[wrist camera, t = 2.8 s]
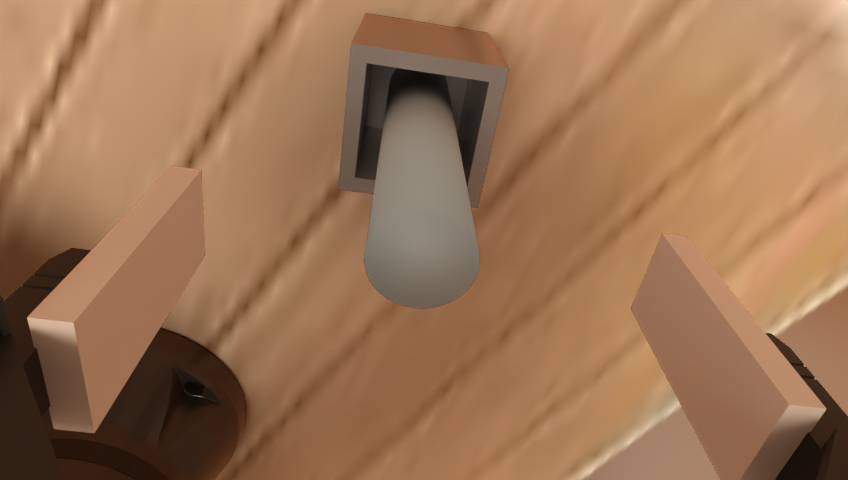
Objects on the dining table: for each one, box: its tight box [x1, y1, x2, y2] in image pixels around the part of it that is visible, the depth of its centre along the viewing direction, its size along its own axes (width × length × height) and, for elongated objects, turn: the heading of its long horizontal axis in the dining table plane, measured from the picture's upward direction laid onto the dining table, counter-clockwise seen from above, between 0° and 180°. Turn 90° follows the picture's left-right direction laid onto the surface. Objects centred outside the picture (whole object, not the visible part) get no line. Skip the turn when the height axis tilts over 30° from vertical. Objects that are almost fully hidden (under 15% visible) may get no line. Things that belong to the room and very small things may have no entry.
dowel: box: [364, 68, 480, 309], centre depth 24 cm, size 3×3×18 cm
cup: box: [338, 13, 509, 208], centre depth 29 cm, size 7×7×8 cm
